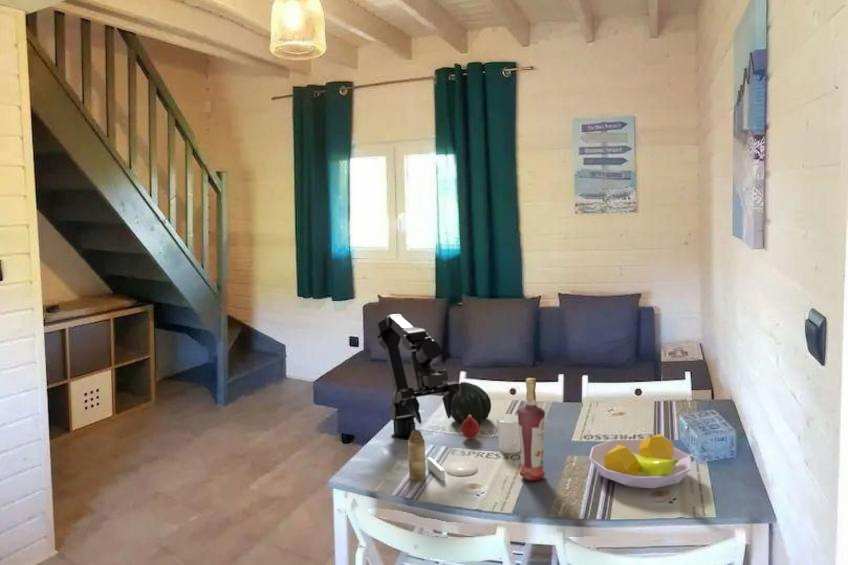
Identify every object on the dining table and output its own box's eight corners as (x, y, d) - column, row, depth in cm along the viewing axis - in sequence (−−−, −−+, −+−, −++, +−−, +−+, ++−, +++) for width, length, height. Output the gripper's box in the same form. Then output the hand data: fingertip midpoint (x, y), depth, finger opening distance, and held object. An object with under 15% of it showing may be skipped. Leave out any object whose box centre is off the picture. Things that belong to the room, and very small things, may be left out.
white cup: (525, 445, 203) (524, 415, 202) (520, 455, 196) (520, 423, 194) (500, 443, 206) (499, 413, 204) (494, 453, 198) (494, 421, 197)
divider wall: (427, 467, 189) (427, 457, 189) (431, 467, 190) (430, 457, 189) (441, 480, 180) (441, 470, 180) (444, 480, 180) (444, 469, 180)
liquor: (539, 485, 175) (538, 384, 171) (514, 480, 179) (512, 381, 175) (549, 475, 181) (548, 377, 177) (525, 470, 185) (523, 374, 181)
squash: (505, 404, 227) (478, 370, 231) (485, 418, 215) (457, 382, 219) (479, 425, 235) (453, 391, 238) (459, 440, 222) (432, 404, 226)
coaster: (440, 472, 186) (440, 470, 186) (455, 461, 193) (455, 459, 193) (468, 478, 181) (468, 477, 181) (482, 466, 188) (482, 465, 188)
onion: (478, 442, 207) (477, 418, 206) (460, 442, 208) (459, 418, 207) (480, 436, 213) (479, 412, 212) (462, 435, 214) (462, 412, 213)
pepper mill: (406, 479, 181) (404, 431, 180) (415, 473, 185) (413, 426, 184) (420, 483, 179) (418, 433, 177) (428, 477, 183) (427, 428, 181)
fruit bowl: (579, 459, 191) (579, 422, 190) (673, 457, 190) (673, 420, 189) (602, 504, 163) (602, 460, 162) (712, 502, 162) (713, 458, 161)
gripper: (401, 365, 185) (413, 418, 179) (460, 357, 192) (474, 408, 186) (390, 376, 195) (402, 428, 189) (447, 368, 202) (460, 418, 196)
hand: (435, 420), depth 190 cm, fingers open, 9 cm apart
